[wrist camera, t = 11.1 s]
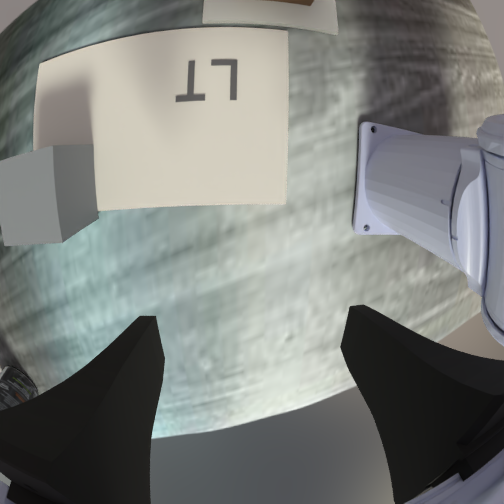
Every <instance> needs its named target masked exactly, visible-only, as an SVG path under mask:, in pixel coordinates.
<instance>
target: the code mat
mask: <svg viewBox="0 0 504 504" xmlns="http://www.w3.org/2000/svg"><path fill="white" fill-rule="evenodd" d="M288 96H289V71H288V31H284V30H275V29H263V28H245V27H207V28H189V29H177V30H168V31H160V32H152V33H146V34H140V35H135V36H129V37H124V38H120V39H115V40H111V41H107V42H103V43H99V44H96V45H92V46H89V47H85V48H82V49H79V50H76V51H73V52H70V53H67V54H64V55H61V56H58V57H56V58H53V59H51V60H48V61H46V62H43V63H41V64H40V65H39V71H38V78H37V86H36V96H35V108H34V131H33V151H34V150H38V149H41V148H45V147H49V146H53V145H90V144H94V170H95V186H96V198H97V208H98V211H106V210H120V209H134V208H150V207H170V206H194V205H232V204H286V189H287V158H288Z"/></svg>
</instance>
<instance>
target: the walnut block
mask: <svg viewBox="0 0 504 504" xmlns="http://www.w3.org/2000/svg"><path fill="white" fill-rule="evenodd" d="M265 1H276V2H285V3H293V4H300V5H306V6H311V4H312V3H313V2H314V0H265Z"/></svg>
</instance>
